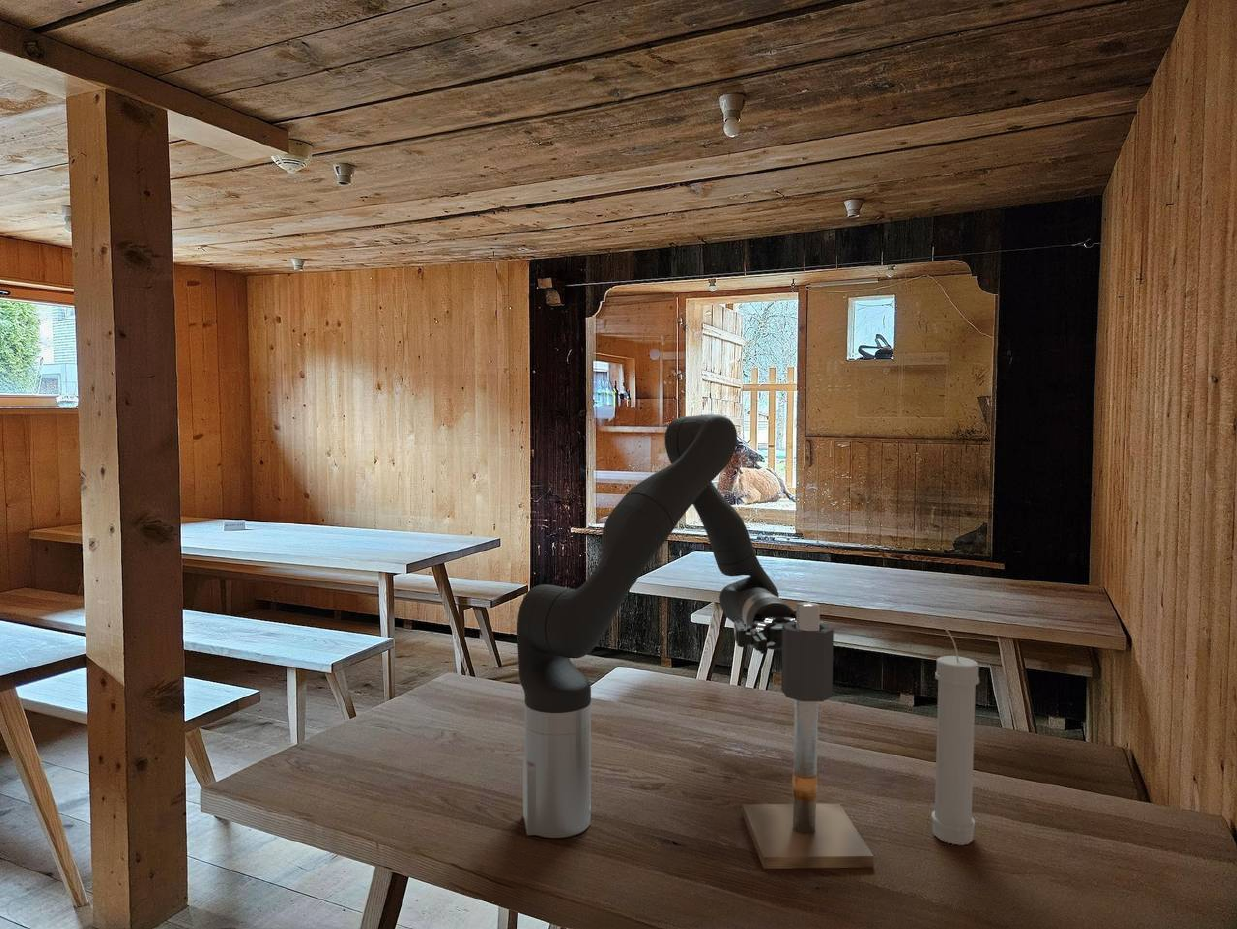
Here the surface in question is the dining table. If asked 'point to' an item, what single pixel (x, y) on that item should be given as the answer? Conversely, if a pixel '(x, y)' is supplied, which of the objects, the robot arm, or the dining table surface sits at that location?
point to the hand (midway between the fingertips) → (794, 647)
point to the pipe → (955, 748)
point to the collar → (807, 662)
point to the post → (805, 802)
